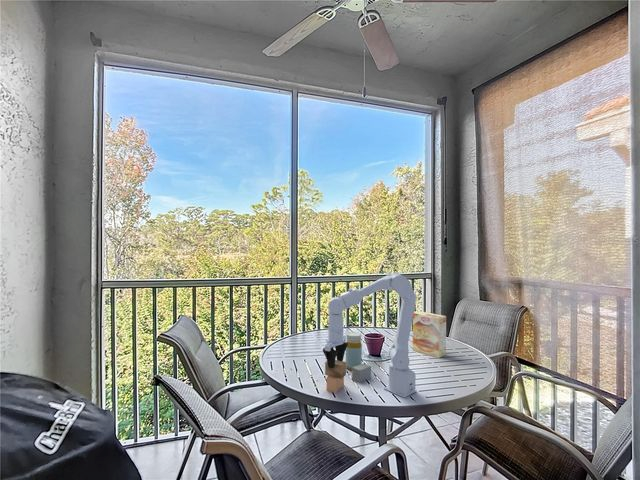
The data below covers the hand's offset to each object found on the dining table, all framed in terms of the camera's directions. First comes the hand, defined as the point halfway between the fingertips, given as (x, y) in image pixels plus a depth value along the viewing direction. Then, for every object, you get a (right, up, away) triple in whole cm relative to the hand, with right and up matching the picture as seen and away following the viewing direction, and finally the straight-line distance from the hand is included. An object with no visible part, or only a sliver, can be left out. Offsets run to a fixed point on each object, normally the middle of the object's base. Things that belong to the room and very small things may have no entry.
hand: (335, 364), depth 130 cm
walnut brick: (0, -4, 0) cm, 4 cm away
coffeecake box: (+49, -9, +41) cm, 65 cm away
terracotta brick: (0, -9, 0) cm, 9 cm away
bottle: (+9, -9, +20) cm, 24 cm away
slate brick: (+11, -9, +9) cm, 17 cm away
